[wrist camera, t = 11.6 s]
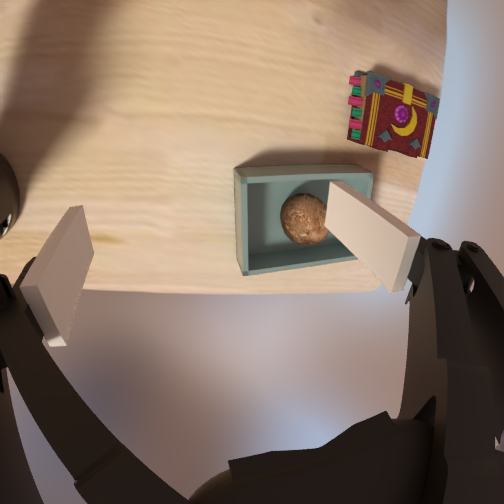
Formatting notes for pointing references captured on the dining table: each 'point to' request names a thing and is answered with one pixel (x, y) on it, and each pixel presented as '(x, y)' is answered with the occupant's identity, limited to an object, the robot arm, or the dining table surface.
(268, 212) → the open rectangular box
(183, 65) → the dining table surface
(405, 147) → the decorative book
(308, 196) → the mushroom
